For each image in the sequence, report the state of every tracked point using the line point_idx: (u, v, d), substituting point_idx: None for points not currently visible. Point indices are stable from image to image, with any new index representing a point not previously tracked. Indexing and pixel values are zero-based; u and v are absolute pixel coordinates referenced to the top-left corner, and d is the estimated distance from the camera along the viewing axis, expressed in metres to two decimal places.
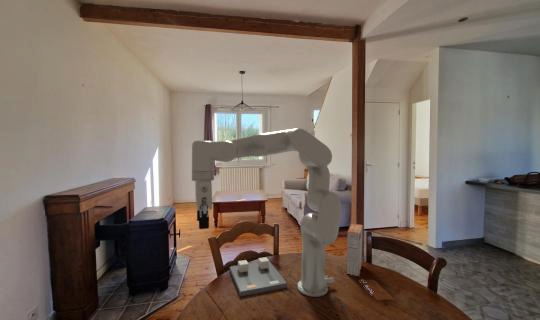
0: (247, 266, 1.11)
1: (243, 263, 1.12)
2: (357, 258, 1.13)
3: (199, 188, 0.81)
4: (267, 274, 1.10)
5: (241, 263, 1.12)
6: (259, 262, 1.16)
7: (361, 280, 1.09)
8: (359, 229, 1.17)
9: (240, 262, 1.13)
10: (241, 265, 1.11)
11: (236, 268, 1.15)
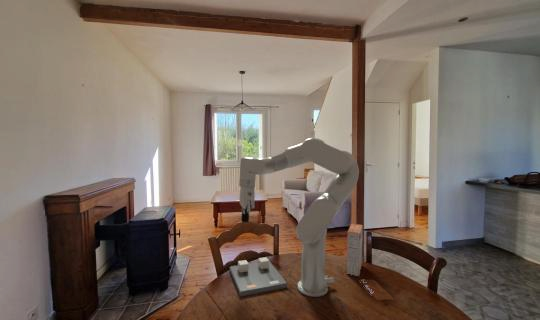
0: (247, 266, 1.11)
1: (243, 263, 1.12)
2: (357, 258, 1.13)
3: (246, 193, 1.10)
4: (267, 274, 1.10)
5: (241, 263, 1.12)
6: (259, 262, 1.16)
7: (361, 280, 1.09)
8: (359, 229, 1.17)
9: (240, 262, 1.13)
10: (241, 265, 1.11)
11: (236, 268, 1.15)
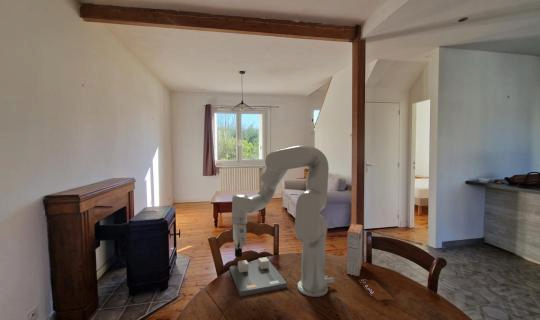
0: (247, 266, 1.11)
1: (243, 263, 1.12)
2: (357, 258, 1.13)
3: (238, 230, 1.15)
4: (267, 274, 1.10)
5: (241, 263, 1.12)
6: (259, 262, 1.16)
7: (361, 280, 1.09)
8: (359, 229, 1.17)
9: (240, 262, 1.13)
10: (241, 265, 1.11)
11: (236, 268, 1.15)
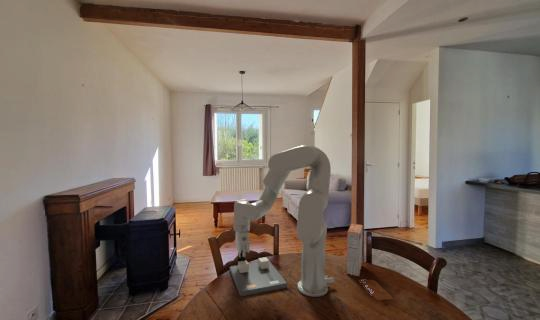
0: (247, 267, 1.11)
1: (243, 264, 1.11)
2: (357, 258, 1.13)
3: (240, 238, 1.11)
4: (267, 274, 1.10)
5: (241, 264, 1.11)
6: (259, 262, 1.16)
7: (361, 280, 1.09)
8: (359, 229, 1.17)
9: (240, 263, 1.12)
10: (241, 266, 1.10)
11: (236, 268, 1.15)
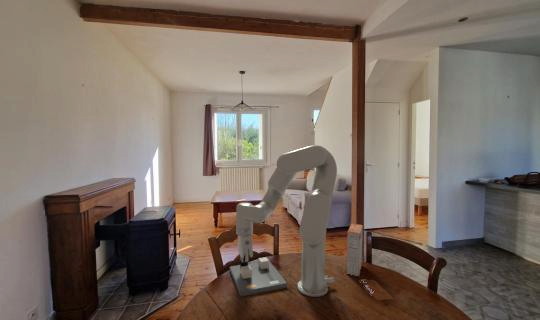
0: (250, 272, 1.06)
1: (246, 269, 1.06)
2: (357, 258, 1.13)
3: (243, 242, 1.06)
4: (267, 274, 1.10)
5: (244, 269, 1.06)
6: (259, 262, 1.16)
7: (361, 280, 1.09)
8: (359, 229, 1.17)
9: (243, 268, 1.07)
10: (244, 271, 1.05)
11: (236, 268, 1.15)
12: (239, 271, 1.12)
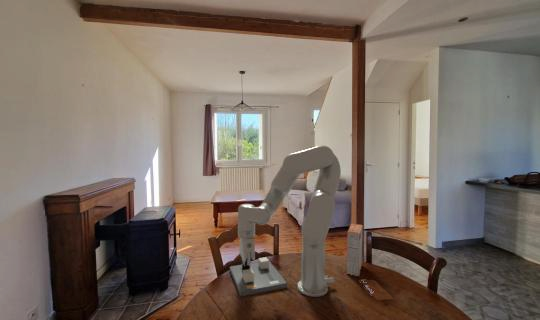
0: (253, 276, 1.03)
1: (248, 272, 1.03)
2: (357, 258, 1.13)
3: (245, 245, 1.03)
4: (267, 274, 1.10)
5: (246, 272, 1.03)
6: (259, 262, 1.16)
7: (361, 280, 1.09)
8: (359, 229, 1.17)
9: (245, 271, 1.04)
10: (246, 275, 1.02)
11: (236, 268, 1.15)
12: (239, 271, 1.12)
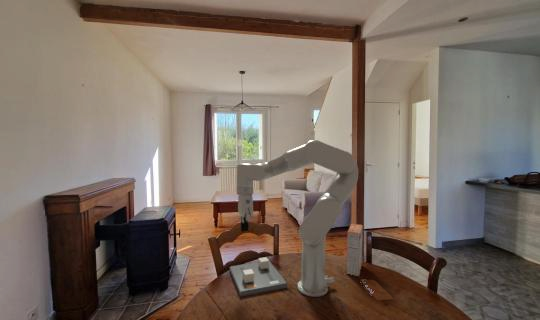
0: (253, 276, 1.03)
1: (248, 273, 1.03)
2: (357, 258, 1.13)
3: (244, 200, 1.06)
4: (267, 274, 1.10)
5: (246, 273, 1.03)
6: (259, 262, 1.16)
7: (362, 280, 1.09)
8: (359, 229, 1.17)
9: (245, 271, 1.04)
10: (246, 275, 1.02)
11: (236, 268, 1.15)
12: (239, 271, 1.12)
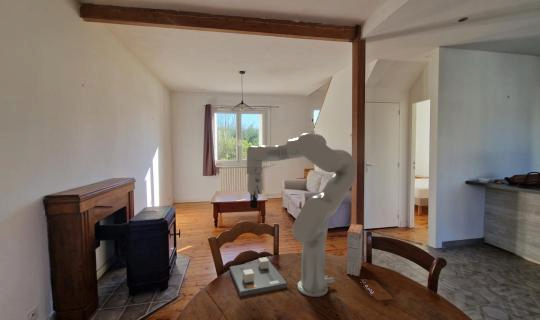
0: (253, 276, 1.03)
1: (248, 273, 1.03)
2: (357, 258, 1.13)
3: (253, 179, 1.17)
4: (267, 274, 1.10)
5: (246, 273, 1.03)
6: (259, 262, 1.16)
7: (362, 280, 1.09)
8: (359, 229, 1.17)
9: (245, 271, 1.04)
10: (246, 275, 1.02)
11: (236, 268, 1.15)
12: (239, 271, 1.12)
